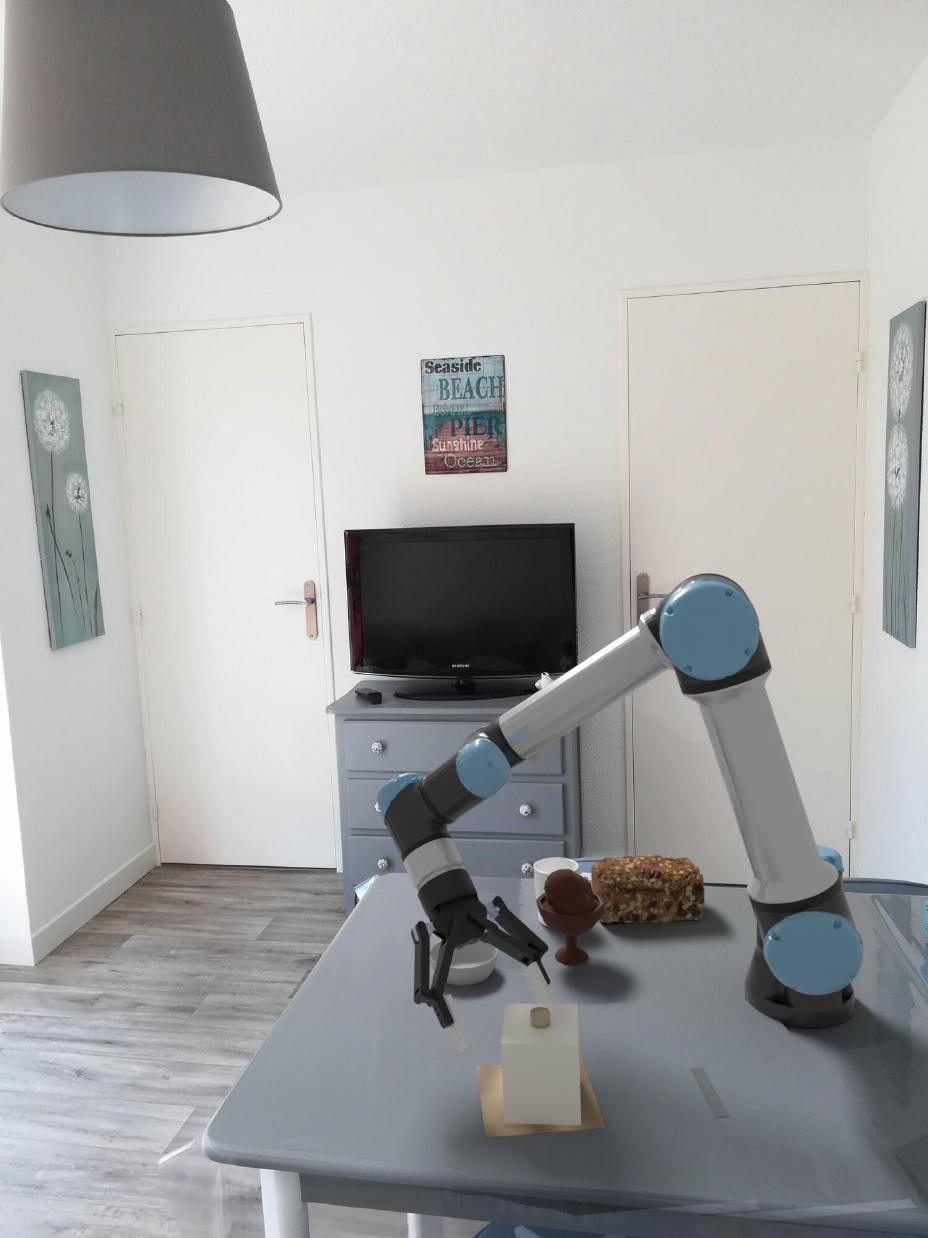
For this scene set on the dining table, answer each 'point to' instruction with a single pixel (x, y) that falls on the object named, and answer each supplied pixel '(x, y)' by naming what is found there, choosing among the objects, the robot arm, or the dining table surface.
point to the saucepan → (468, 963)
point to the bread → (648, 889)
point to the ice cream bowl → (570, 911)
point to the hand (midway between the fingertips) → (510, 1031)
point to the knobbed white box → (541, 1064)
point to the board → (496, 1127)
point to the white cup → (546, 868)
